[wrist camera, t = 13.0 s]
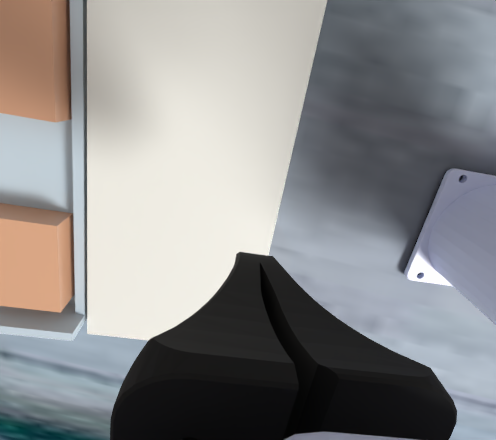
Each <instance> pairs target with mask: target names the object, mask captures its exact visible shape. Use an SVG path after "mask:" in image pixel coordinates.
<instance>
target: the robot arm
mask: <svg viewBox="0 0 496 440" xmlns="http://www.w3.org/2000/svg"><path fill="white" fill-rule="evenodd" d="M462 175H463V178H462V180H460V181H459V178H460V176H462ZM420 272H421V274H420V275H418V276H417V274H418V273H420ZM404 274H405V276H406V277H407V278H408V279H409V280H412V281H419V282H426V283H433V284H441V285H448V286H453V287H455V288H456V289H457V290H458V291H459V292H460V293H461V294H462V295H463V296H464V297H466V298H467V299H468V300H469V301H470V302H471V303H472V304H473V305H474V306H475V307H477V308H478V309H479V310H480V311H481V312H482V313H483V314H484V315H485V316H486V317H488V318H489V319H490V320H491V321H492V322H493V323H494V324H495V325H496V176H494V175H489V174H483V173H478V172H472V171H467V170H461V169H456V168H452V169H450V170H448V171H447V172H446V174H445V175H444V178H443V180H442V183H441V185H440V187H439V190H438V192H437V195H436V197H435V199H434V202H433V204H432V207H431V209H430V211H429V214H428V216H427V219H426V221H425V223H424V226H423V228H422V231H421V233H420V235H419V238H418V240H417V243H416V245H415V248H414V250H413V252H412V255H411V257H410V260H409V262H408V264H407V267H406V269H405V272H404ZM456 419H457V410H456V407H455V405H454V402H453V400H452V398H451V397H450V395H449V394H448V393H447V391H446V390H445V388H444V387H443V385H442V384H441V382H440V381H439V380H438V378H437V377H436V375H435V374H434V372H433V371H432V370H431V368H429V367H427V366H425V365H423V364H420V363H418V362H416V361H414V360H411V359H409V358H407V357H405V356H402V355H400V354H398V353H395V352H393V351H391V350H389V349H388V348H386V347H384V346H382V345H380V344H378V343H376V342H374V341H372V340H371V339H369V338H367V337H365V336H364V335H362V334H360V333H359V332H357V331H356V330H354V329H352V328H351V327H349V326H348V325H346V324H345V323H343V322H342V321H340V320H339V319H337V318H336V317H335V316H333V315H332V314H331V313H330V312H328V311H327V310H326V309H324V308H323V307H322V306H321V305H319V304H318V303H317V302H316V301H315V300H314V299H313V298H312V297H310V296H309V295H308V294H307V293H306V292H305V291H304V290H303V289H302V288H301V287H300V286H299V285H298V284H297V283H296V282H295V281H294V280H293V278H292V277H291V276H290V275H289V274H288V273H287V272H286V271H285V270H284V268H283V267H282V266H281V265H280V264H279V263H278V261H277V260H276V259H275V258H274V257H273V256H267V255H260V254H252V253H245V252H239V253H237V254H236V258H235V264H234V266H233V268H232V270H231V272H230V274H229V275H228V277H227V279H226V280H225V281H224V283H223V284H222V286H221V287H220V288H219V290H218V291H217V292H216V293H215V294H214V296H213V297H212V298H211V299H210V300H209V301H208V302H207V303H206V304H205V305H203V306H202V307H201V308H200V309H199V310H198V311H197V312H195V313H194V314H193V315H192V316H190V317H189V318H187V319H186V320H184V321H183V322H181V323H180V324H178V325H177V326H175V327H174V328H171V329H169V330H167V331H165V332H163V333H161V334H159V335H157V336H155V337H152V338H151V339H149V341H148V342H147V344H146V345H145V346H144V348H143V349H142V351H141V352H140V354H139V355H138V357H137V358H136V360H135V361H134V363H133V365H132V366H131V368H130V370H129V372H128V374H127V376H126V378H125V379H124V381H123V384H122V386H121V388H120V391H119V394H118V396H117V399H116V402H115V404H114V408H113V412H112V416H111V428H110V440H449V438H450V436H451V434H452V432H453V429H454V427H455V424H456Z"/></svg>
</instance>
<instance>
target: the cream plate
mask: <svg viewBox="0 0 496 440" xmlns="http://www.w3.org/2000/svg"><path fill="white" fill-rule="evenodd" d="M326 4H327V0H87V334H94V335H103V336H113V337H122V338H131V339H140V340H149V339H151V338H152V337H155V336H157V335H159V334H161V333H163V332H165V331H167V330H169V329H171V328H174V327H175V326H177V325H178V324H180V323H181V322H183V321H184V320H186V319H187V318H189V317H190V316H192V315H193V314H194V313H195V312H197V311H198V310H199V309H200V308H201V307H202V306H203V305H205V304H206V303H207V302H208V301H209V300H210V299H211V298H212V297H213V296H214V294H215V293H216V292H217V291H218V290H219V288H220V287H221V286H222V284H223V283H224V281H225V280H226V279H227V277H228V275H229V274H230V272H231V270H232V268H233V266H234V264H235V258H236V254H237V253H239V252H245V253H252V254H260V255H267V256H268V255H269V250H270V246H271V242H272V237H273V233H274V229H275V224H276V220H277V216H278V211H279V207H280V203H281V198H282V194H283V190H284V186H285V181H286V177H287V173H288V168H289V164H290V160H291V155H292V151H293V147H294V142H295V138H296V134H297V129H298V125H299V121H300V116H301V112H302V108H303V103H304V99H305V95H306V91H307V86H308V82H309V78H310V73H311V69H312V65H313V60H314V56H315V52H316V47H317V43H318V39H319V34H320V30H321V26H322V21H323V17H324V13H325V8H326Z"/></svg>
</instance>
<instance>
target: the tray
mask: <svg viewBox="0 0 496 440" xmlns="http://www.w3.org/2000/svg"><path fill="white" fill-rule="evenodd" d="M70 49H71V104H72V119H70V120H66V121H61V122H56V123H55V122H49V121H44V120H38V119H32V118H26V117H21V116H15V115H9V114H3V113H0V203H4V204H11V205H18V206H25V207H32V208H39V209H46V210H53V211H60V212H67V213H73V233H74V278H75V294H74V296H73V297H72V298H71V300H70V301H69V302H68V304H67V305H66V306H65V308H64V309H63V310H62V311H61V313H60V312H51V311H42V310H33V309H24V308H15V307H6V306H0V334H9V335H19V336H28V337H38V338H47V339H57V340H66V341H73V340H74V338H75V337H76V335H77V333H78V332H79V330H80V329H81V327H82V325H83V324H84V322H85V321H86V319H87V0H70Z"/></svg>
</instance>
